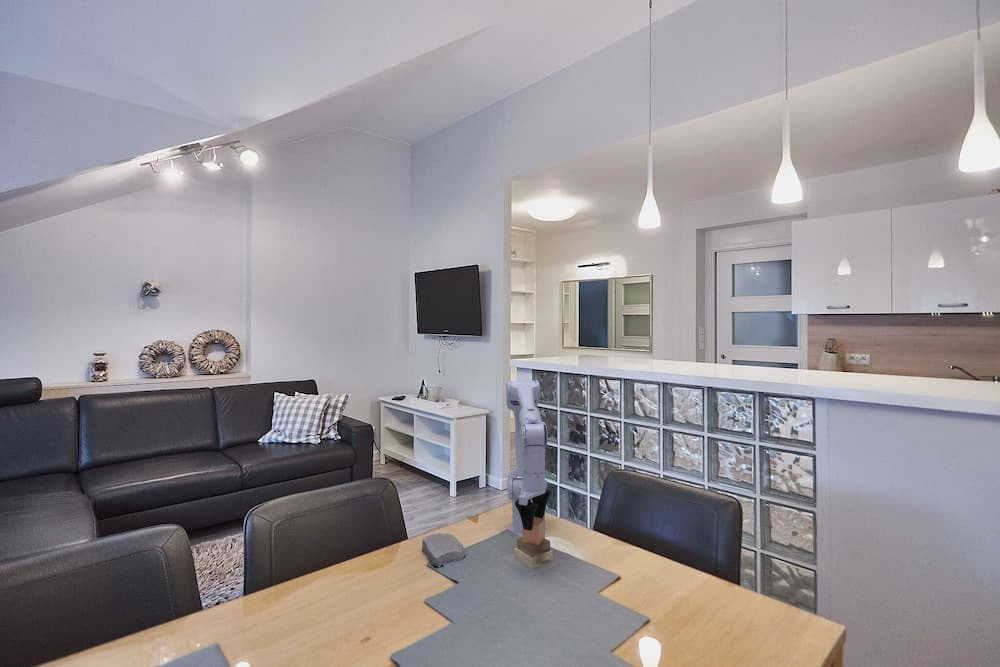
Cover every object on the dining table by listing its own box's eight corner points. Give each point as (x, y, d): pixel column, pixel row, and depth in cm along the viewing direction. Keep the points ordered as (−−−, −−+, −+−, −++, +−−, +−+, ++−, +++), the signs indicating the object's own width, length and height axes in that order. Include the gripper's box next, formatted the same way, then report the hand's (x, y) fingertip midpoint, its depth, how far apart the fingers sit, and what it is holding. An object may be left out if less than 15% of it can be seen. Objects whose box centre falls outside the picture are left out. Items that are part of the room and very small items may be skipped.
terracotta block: (529, 535, 129) (529, 516, 129) (544, 538, 127) (544, 518, 127) (522, 541, 125) (522, 522, 125) (538, 545, 123) (538, 525, 123)
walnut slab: (534, 542, 130) (534, 533, 130) (550, 550, 126) (550, 541, 125) (517, 548, 127) (517, 538, 127) (532, 557, 122) (532, 547, 122)
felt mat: (536, 546, 135) (536, 544, 135) (567, 564, 125) (567, 561, 125) (500, 559, 128) (500, 556, 128) (530, 578, 118) (530, 576, 118)
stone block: (452, 549, 137) (418, 549, 133) (455, 532, 138) (421, 531, 133) (468, 570, 127) (431, 571, 122) (472, 551, 127) (435, 551, 123)
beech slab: (535, 550, 131) (535, 541, 131) (552, 560, 125) (553, 551, 125) (514, 557, 127) (514, 548, 127) (531, 568, 121) (531, 558, 121)
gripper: (529, 461, 134) (529, 511, 134) (507, 476, 121) (507, 531, 121) (554, 465, 131) (554, 515, 131) (534, 480, 118) (534, 537, 118)
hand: (533, 523), depth 126 cm, fingers open, 7 cm apart
